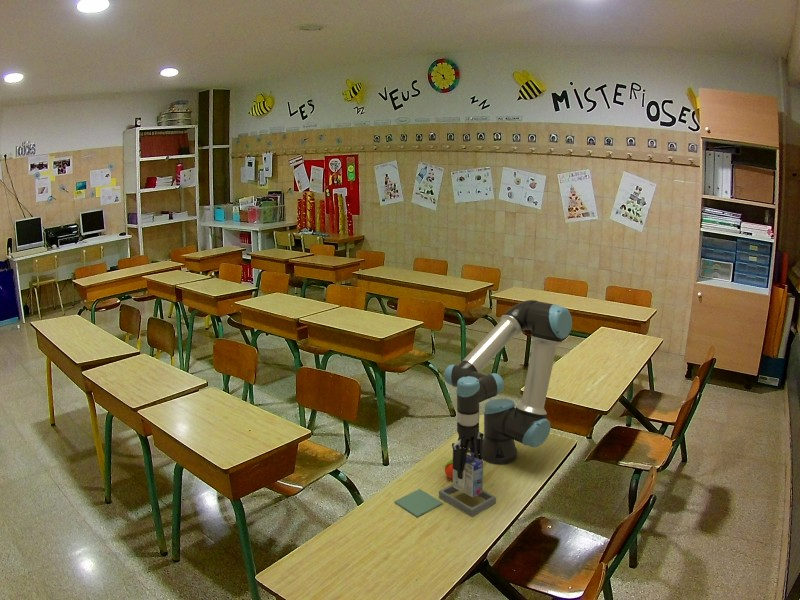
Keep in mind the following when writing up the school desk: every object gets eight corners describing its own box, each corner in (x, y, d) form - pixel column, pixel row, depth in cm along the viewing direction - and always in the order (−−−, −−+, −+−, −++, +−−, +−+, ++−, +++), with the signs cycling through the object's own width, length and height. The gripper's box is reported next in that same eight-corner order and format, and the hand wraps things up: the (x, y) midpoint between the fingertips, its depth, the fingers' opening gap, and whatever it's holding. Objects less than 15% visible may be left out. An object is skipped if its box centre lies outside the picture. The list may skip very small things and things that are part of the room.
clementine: (447, 484, 226) (447, 467, 224) (439, 475, 232) (439, 458, 231) (466, 480, 229) (466, 463, 227) (458, 471, 235) (458, 454, 233)
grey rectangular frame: (462, 485, 226) (462, 479, 225) (495, 503, 214) (495, 497, 213) (438, 497, 218) (438, 491, 217) (472, 516, 206) (472, 510, 206)
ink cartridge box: (483, 492, 213) (484, 454, 210) (473, 498, 210) (473, 460, 206) (462, 481, 220) (462, 445, 217) (452, 487, 217) (451, 450, 213)
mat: (419, 490, 223) (419, 488, 222) (442, 504, 214) (442, 502, 214) (394, 502, 215) (394, 501, 215) (417, 517, 206) (417, 516, 206)
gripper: (478, 410, 217) (477, 469, 223) (440, 426, 206) (441, 488, 211) (494, 417, 212) (493, 477, 217) (456, 434, 200) (457, 497, 206)
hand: (468, 482), depth 214 cm, fingers closed on ink cartridge box, 5 cm apart
